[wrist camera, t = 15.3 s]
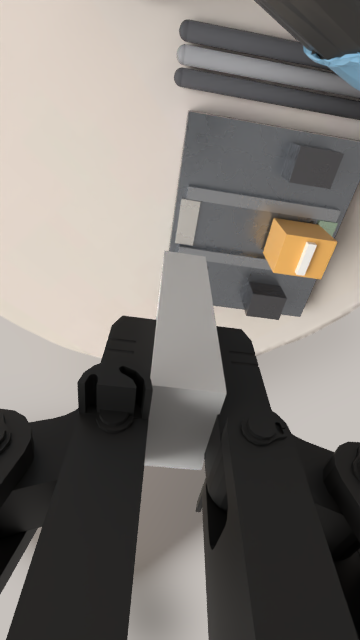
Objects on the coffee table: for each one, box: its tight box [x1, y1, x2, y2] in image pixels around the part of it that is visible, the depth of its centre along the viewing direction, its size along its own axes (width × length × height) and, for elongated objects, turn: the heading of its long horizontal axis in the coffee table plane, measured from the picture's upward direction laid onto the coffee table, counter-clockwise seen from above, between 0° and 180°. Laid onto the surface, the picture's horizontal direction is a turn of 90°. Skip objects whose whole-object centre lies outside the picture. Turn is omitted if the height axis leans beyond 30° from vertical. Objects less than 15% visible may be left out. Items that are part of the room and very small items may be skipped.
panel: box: [169, 110, 360, 320], centre depth 35 cm, size 20×18×6 cm
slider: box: [263, 218, 337, 279], centre depth 33 cm, size 4×5×6 cm
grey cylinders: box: [174, 20, 360, 120], centre depth 29 cm, size 5×21×1 cm, turn 81°
